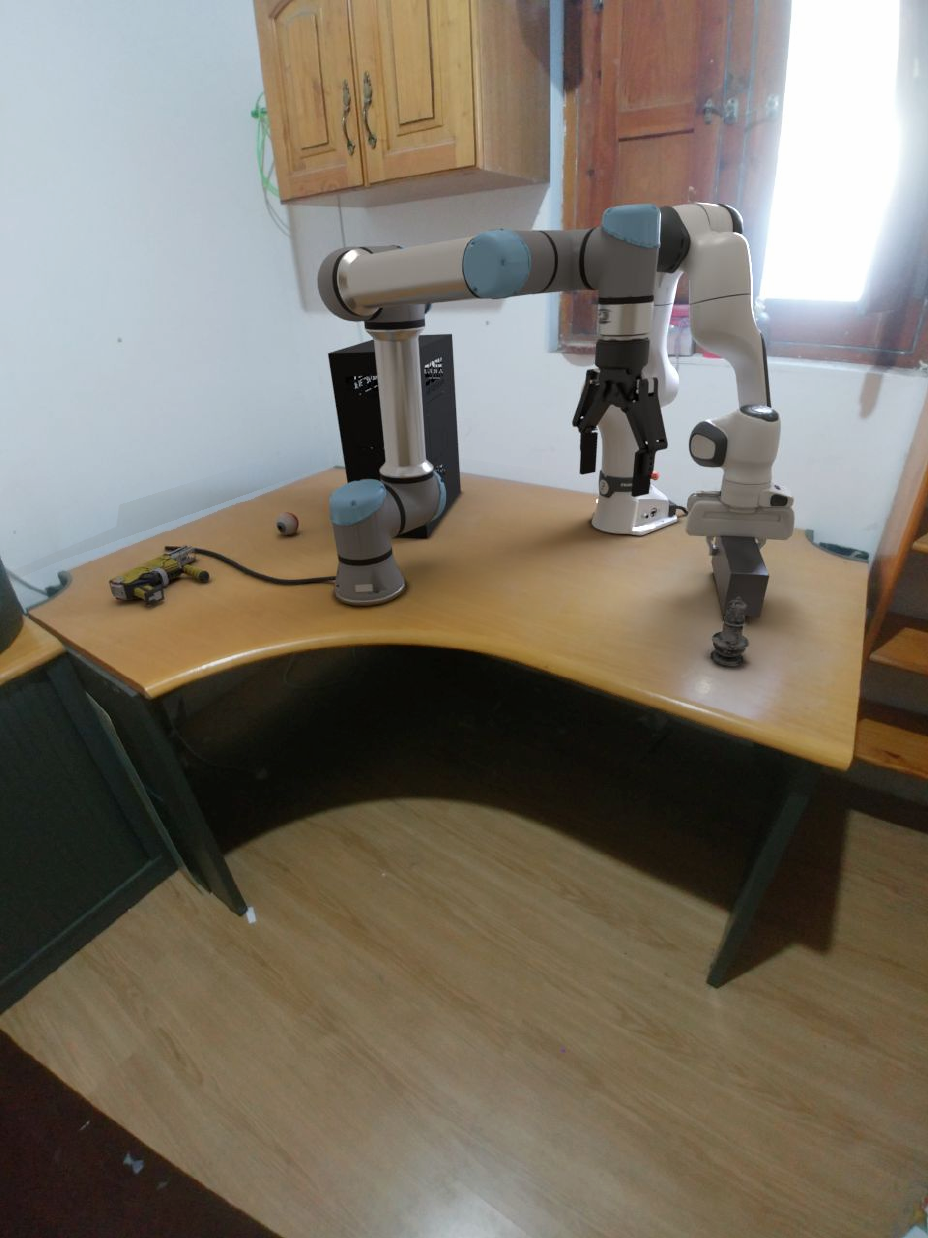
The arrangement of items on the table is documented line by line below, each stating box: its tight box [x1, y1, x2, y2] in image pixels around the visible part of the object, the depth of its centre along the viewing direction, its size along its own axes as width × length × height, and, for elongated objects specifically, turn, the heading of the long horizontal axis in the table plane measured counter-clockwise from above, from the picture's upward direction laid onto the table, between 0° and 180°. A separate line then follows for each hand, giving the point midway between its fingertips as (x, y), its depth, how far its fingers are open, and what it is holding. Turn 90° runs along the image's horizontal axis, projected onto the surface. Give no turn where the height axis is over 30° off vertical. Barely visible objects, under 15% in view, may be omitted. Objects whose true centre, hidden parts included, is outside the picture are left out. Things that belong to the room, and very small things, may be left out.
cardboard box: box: [327, 333, 462, 539], centre depth 164 cm, size 38×20×45 cm, turn 167°
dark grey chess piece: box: [710, 596, 750, 667], centre depth 101 cm, size 6×6×12 cm
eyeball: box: [275, 511, 300, 536], centre depth 163 cm, size 6×6×6 cm
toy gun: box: [108, 544, 210, 607], centre depth 141 cm, size 5×24×15 cm
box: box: [711, 535, 770, 618], centre depth 120 cm, size 24×6×9 cm, turn 165°
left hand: (612, 483), depth 96 cm, fingers open, 13 cm apart
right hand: (732, 555), depth 127 cm, fingers closed on box, 6 cm apart
